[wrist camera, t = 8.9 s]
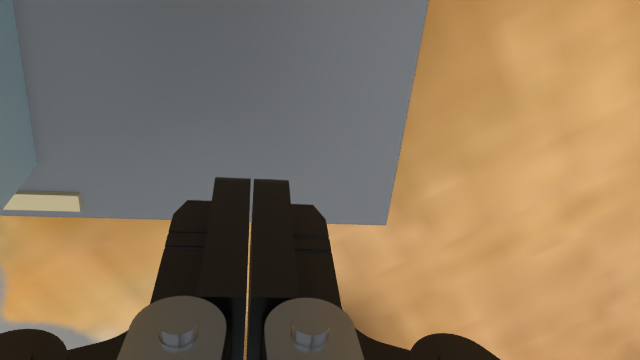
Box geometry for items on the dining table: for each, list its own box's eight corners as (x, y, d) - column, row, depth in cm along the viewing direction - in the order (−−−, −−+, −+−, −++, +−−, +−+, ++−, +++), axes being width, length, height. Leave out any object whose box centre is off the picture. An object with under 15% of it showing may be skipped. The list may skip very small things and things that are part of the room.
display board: (-462, -241, 16) (-517, -251, 15) (444, -129, 20) (456, -130, 19) (-254, 196, 23) (-281, 212, 22) (381, 214, 27) (387, 228, 26)
